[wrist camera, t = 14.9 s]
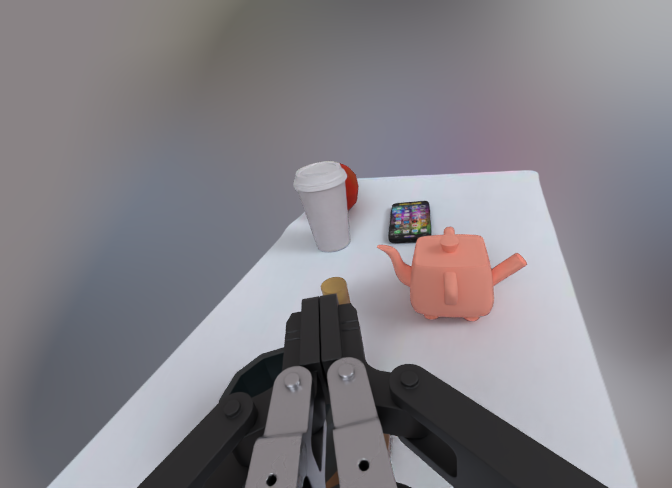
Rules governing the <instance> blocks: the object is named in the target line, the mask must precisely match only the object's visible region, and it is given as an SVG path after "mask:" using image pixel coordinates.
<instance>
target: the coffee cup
mask: <svg viewBox="0 0 672 488" xmlns="http://www.w3.org/2000/svg"><path fill="white" fill-rule="evenodd" d="M346 178H347V174H346V172H345V170H344V169H343V168H342V167H341V165H340V164H339V163H338V162H333V161H326V162H318V163H314V164H310V165H307V166H305V167H302V168H301V169H299V170H298V171H297V172H296V175H295V179H294V188H295V189H296V190H298V193H299V196H300V198H301V201H302V204H303V207H304V210H305V213H306V216H307V219H308V221H309V224H310V227H311V230H312V233H313V236H314V239H315V242H316V245H317V247H318V249H319V250H321V251H323V252H335V251H339V250H341V249H343V248H345V247H347V246H348V245H349V243H350V233H349V222H348V211H347V199H346V187H345V180H346Z"/></svg>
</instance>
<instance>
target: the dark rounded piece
mask: <svg viewBox="0 0 672 488" xmlns="http://www.w3.org/2000/svg"><path fill="white" fill-rule="evenodd" d="M321 290H322V294H323V295H329V294H334V293H337V297H338V301H339V305H341V304H346V303H350V298H349V293H348V289H347V284H346V281H345V280H344V279H343V278H341V277H332V278H329V279H327V280H325V281H324V282H323V283H322V285H321ZM283 355H284V347H283V348H280V349H277V350H273V351H270V352H267V353H263V354H261V355H259V356H258V357H257V358H255V359H254V360H253V361H251V362H250V363H249V364H247V365H246V366H245V367H243V368H242V369H241V370H239V371H238V372H237V373H236V374H235V375H234V377H233V379H232V380H231V382H230V383H229V385H228V387H227V388H226V390H225V391H224V393H223V395H222V396H221V398H220V400H219V402H220V401H221V400H222V399H224V398H225V397H226V396H228V395H230V394H232V393H236V392H244V393H247V394H248V395H250V396H251V398H252V397H254V396H257V395H259V394H261V393H263V392H265V391H267V390H268V389H270V388H271V387H272V386H274V382H275V380H276V378H277V376H278V375H279V374H280V373H281V372H282V366H283ZM325 413H326V417H325V419H326V423H327V430H326V456H325V485H326V488H331V487H333V486H335V485H338V484H339V476H338V469H337V461H336V453H335V446H334V438H333V428H334V423H333V415H332V408H331V404H326V405H325ZM383 435H384V439H385V443H386V447H387V450H388V454H389V458H390V450H391V440H390V435H389V434H384V433H383Z"/></svg>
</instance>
